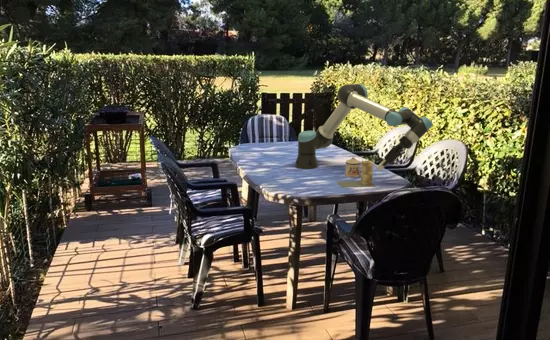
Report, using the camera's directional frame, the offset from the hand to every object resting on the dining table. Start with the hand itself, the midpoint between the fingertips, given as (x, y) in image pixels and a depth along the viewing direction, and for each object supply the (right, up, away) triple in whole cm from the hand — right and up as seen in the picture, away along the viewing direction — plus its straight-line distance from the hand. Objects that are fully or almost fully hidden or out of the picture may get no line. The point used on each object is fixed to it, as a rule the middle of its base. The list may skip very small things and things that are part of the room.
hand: (378, 169), depth 250 cm
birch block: (-6, -8, +1) cm, 11 cm away
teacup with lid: (-10, -4, +21) cm, 24 cm away
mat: (-12, -9, +1) cm, 15 cm away
